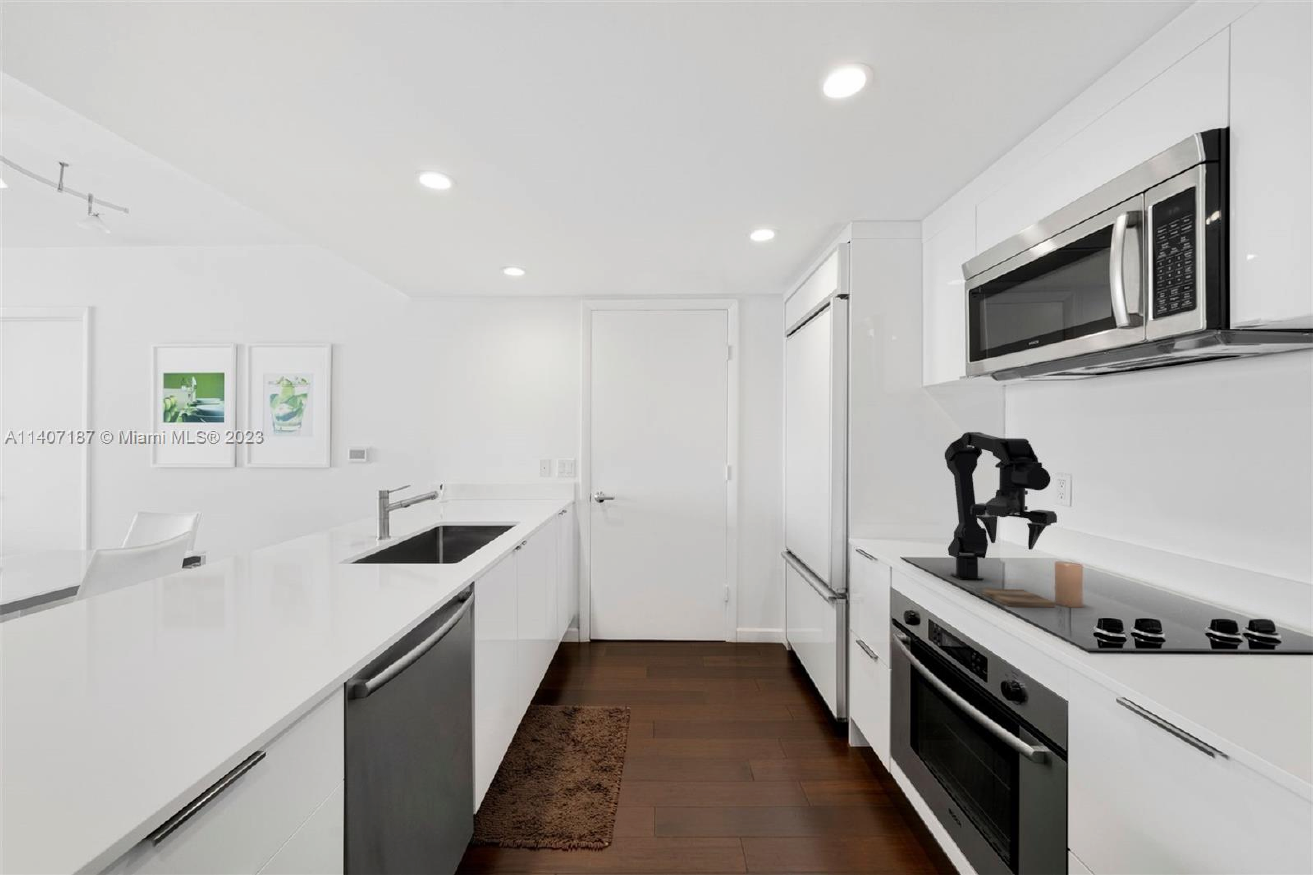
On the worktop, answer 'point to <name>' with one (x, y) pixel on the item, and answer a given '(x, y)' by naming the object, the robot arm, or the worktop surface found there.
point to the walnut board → (1017, 598)
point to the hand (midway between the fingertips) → (1011, 546)
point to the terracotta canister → (1069, 584)
